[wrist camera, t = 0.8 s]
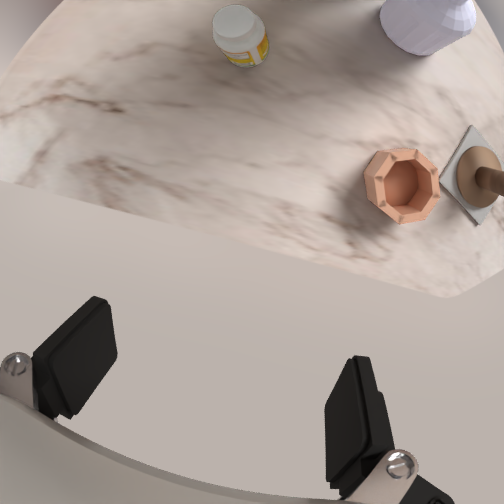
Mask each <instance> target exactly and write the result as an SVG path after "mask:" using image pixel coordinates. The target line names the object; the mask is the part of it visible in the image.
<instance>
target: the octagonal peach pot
mask: <svg viewBox="0 0 504 504" xmlns="http://www.w3.org/2000/svg"><path fill="white" fill-rule="evenodd" d="M363 173H364V179H365V186H366V192H367V199H368V200H370V201H371V202H372V203H373V204H374V205H376V206H377V207H378V208H380V209H381V210H382V211H384V212H385V213H386V214H387V215H389V216H390V217H391V218H392V219H393V220H395V221H396V222H397V223H398V224H404V223H410V222H415V221H421V220H425V219H426V217H427V216H428V214H429V213H430V212H431V210H432V209H433V207H434V206H435V204H436V203H437V201H438V200H439V198H440V189H439V178H438V169H437V168H436V167H435V166H434V165H433V164H432V163H431V162H430V161H429V160H428V159H427V158H426V157H425V156H424V155H423V154H421V153H420V152H419V151H418V150H417V149H408V148H398V149H390V150H382V151H377V153H376V154H375V156H374V157H373V159H372V160H371V162H370V163H369V165H368V166H367V168H366V169H365V171H364V172H363Z"/></svg>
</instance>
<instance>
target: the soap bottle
mask: <svg viewBox="0 0 504 504" xmlns="http://www.w3.org/2000/svg"><path fill="white" fill-rule="evenodd" d="M380 21H381V25H382V28H383V29H384V31H385V33H386V34H387V36H388V37H389V38H390V39H391V40H392V41H393V42H394V43H395V44H396V45H397V46H398V47H400V48H402V49H403V50H405V51H406V52H409V53H412V54H415V55H430V54H432V53H434V52H436V51H438V50H440V49H442V48H444V47H445V46H447V45H449V44H451V43H453V42H455V41H456V40H458V39H460V38H462V37H464V36H466V35H468V34H470V32H471V31H472V29H473V28H474V26H475V23H476V11H475V8H474V5H473V2H472V1H471V0H386V1H385V3H384V4H383V6H382V7H381V11H380Z"/></svg>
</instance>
